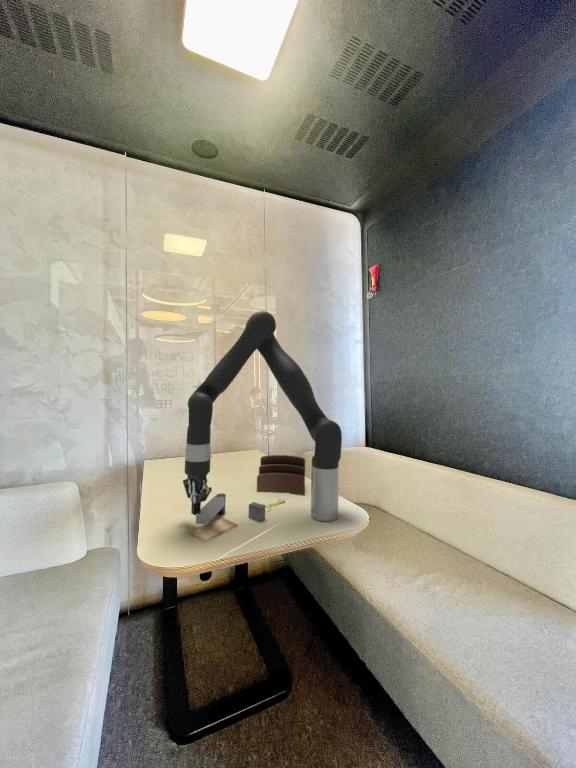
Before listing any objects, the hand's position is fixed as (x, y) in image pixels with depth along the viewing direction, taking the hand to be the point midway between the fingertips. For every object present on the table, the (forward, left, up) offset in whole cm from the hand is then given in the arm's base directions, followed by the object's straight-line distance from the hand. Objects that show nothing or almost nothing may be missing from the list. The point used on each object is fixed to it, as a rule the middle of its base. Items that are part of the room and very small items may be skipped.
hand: (195, 513), depth 92 cm
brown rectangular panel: (-3, +6, -5) cm, 8 cm away
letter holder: (-44, -1, -5) cm, 44 cm away
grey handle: (-6, +1, -4) cm, 7 cm away
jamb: (-13, +3, -5) cm, 14 cm away
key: (-27, +7, -5) cm, 28 cm away
